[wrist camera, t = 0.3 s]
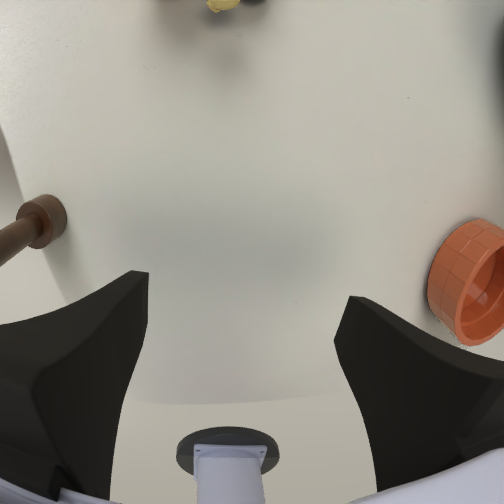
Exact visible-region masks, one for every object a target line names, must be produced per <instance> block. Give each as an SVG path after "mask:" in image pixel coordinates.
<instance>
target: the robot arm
mask: <svg viewBox="0 0 504 504" xmlns="http://www.w3.org/2000/svg"><path fill="white" fill-rule="evenodd" d="M148 281H149V273H147V272H140V271H133V270H131V271H129V272H127V273H125V274H124V275H122V276H120V277H119V278H117V279H116V280H114V281H112V282H111V283H109V284H107V285H106V286H104V287H102V288H101V289H99V290H97V291H95V292H93V293H91V294H90V295H88V296H86V297H84V298H82V299H80V300H78V301H76V302H74V303H72V304H70V305H68V306H65V307H63V308H60V309H58V310H55V311H53V312H50V313H47V314H43V315H40V316H37V317H33V318H30V319H27V320H23V321H18V322H13V323H9V324H2V325H0V504H121V503H116V502H112V501H110V500H109V499H110V485H111V473H112V464H113V456H114V448H115V442H116V436H117V429H118V424H119V418H120V413H121V408H122V404H123V400H124V397H125V394H126V391H127V388H128V385H129V382H130V379H131V376H132V374H133V371H134V368H135V365H136V363H137V360H138V357H139V354H140V351H141V349H142V346H143V341H144V337H145V333H146V328H147V324H148ZM334 344H335V348H336V352H337V355H338V359H339V362H340V365H341V367H342V369H343V372H344V374H345V376H346V379H347V381H348V383H349V385H350V388H351V390H352V392H353V394H354V397H355V398H356V401H357V403H358V406H359V408H360V411H361V414H362V416H363V419H364V423H365V427H366V430H367V434H368V438H369V443H370V447H371V452H372V456H373V462H374V469H375V475H376V484H377V493H375V494H372V495H369V496H365V497H362V498H359V499H356V500H354V501H352V502H349V503H347V504H504V361H500V360H496V359H492V358H488V357H484V356H481V355H477V354H474V353H471V352H469V351H466V350H463V349H460V348H458V347H455V346H453V345H451V344H448V343H446V342H444V341H442V340H440V339H438V338H436V337H434V336H432V335H430V334H428V333H426V332H424V331H423V330H421V329H419V328H417V327H415V326H414V325H412V324H410V323H409V322H407V321H405V320H404V319H402V318H401V317H399V316H397V315H396V314H394V313H392V312H391V311H389V310H387V309H386V308H384V307H383V306H381V305H379V304H377V303H375V302H374V301H372V300H370V299H367V298H365V297H358V296H349V299H348V302H347V305H346V308H345V311H344V313H343V316H342V319H341V322H340V325H339V327H338V330H337V333H336V335H335V338H334ZM266 452H267V446H265V445H214V444H195V445H194V480H195V481H197V504H265V498H264V491H263V484H262V477H261V470H260V469H261V466H262V463H263V460H264V458H265V455H266Z"/></svg>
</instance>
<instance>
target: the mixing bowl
mask: <svg viewBox="0 0 504 504" xmlns="http://www.w3.org/2000/svg"><path fill="white" fill-rule="evenodd" d="M427 297H428V302H429V307H430V310H431V311H432V312H433V314H434V315H435V317H436V318H437V319H438V320H439V321H440V322H441V323H442V324H443V325H444V326H445V327H446V328H447V329H448V330H449V331H450V332H451V333H452V334H453V335H454V337H455V338H456V339H457V340H458V341H459V342H460V343H462V344H464V345H467V346H475V345H480V344H482V343H484V342H486V341H488V340H490V339H491V338H493V337H494V336H495V335H496V334H497V333H499V332H500V331H501V330H502V329H503V328H504V228H503V227H501V226H499V225H497V224H494V223H492V222H490V221H487V220H483V219H478V220H474V221H470V222H467V223H465V224H464V225H462V226H461V227H459V228H457V229H456V230H455V231H454V232H452V233H451V234H450V235H449V236H448V238H447V239H446V240H445V241H444V243H443V244H442V246H441V247H440V249H439V250H438V252H437V254H436V256H435V258H434V260H433V263H432V266H431V269H430V272H429V277H428V289H427Z"/></svg>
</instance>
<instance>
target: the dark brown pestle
mask: <svg viewBox="0 0 504 504" xmlns="http://www.w3.org/2000/svg"><path fill="white" fill-rule="evenodd" d="M65 226H66V212H65V209H64V207H63V205H62V203H61V202H60V201H59V200H58V199H57V198H56V197H54V196H52V195H47V194H45V195H41V196H39V197H37V198H34V199H32V200H30V201H28V202H26V203H24V204H23V205H22V206H21V207H20V209H19V210H18V213H17V216H16V221H15V222H13V223H11V224H10V225H8V226H6V227H5V228H3V229H1V230H0V267H1V266H2V265H3V264H4V263H6V262H7V261H8V260H10V259H11V258H12V257H14V256H15V255H16V254H17V253H19V252H20V251H21V250H23V249H24V248H25V247H27V246H29V247H31V248H34V249H42V248H44V247H46V246H47V245H48V244H50V243H51V242H52V241H53V240H55V239H56V238H57V237H59V236H60V235H61V234H62V233H63V231H64V229H65Z"/></svg>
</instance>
